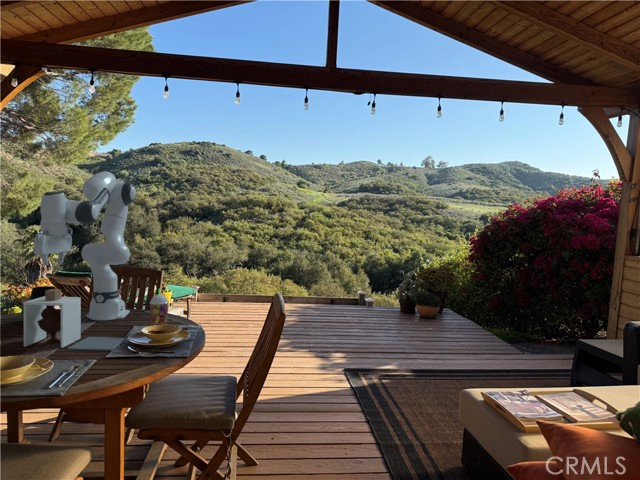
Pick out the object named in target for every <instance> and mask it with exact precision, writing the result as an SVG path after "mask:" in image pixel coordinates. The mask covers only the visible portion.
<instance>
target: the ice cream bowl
mask: <svg viewBox="0 0 640 480" xmlns="http://www.w3.org/2000/svg"><path fill="white" fill-rule="evenodd" d="M41 316H42V318H43V319H41V320H39V321H38V325H39V327H40V328H41V329H42V330H43V331H45V332H47V334H49V335H50V339H47V340H46V341H45V344H46V345H57V344H61V338H58V337H57V336H56V335H57V333H59V332H61V309H57V308H55V306H54V307H47V308H45V309H44V310H43V311H42V312H41Z"/></svg>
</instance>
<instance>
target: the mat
mask: <svg viewBox="0 0 640 480" xmlns="http://www.w3.org/2000/svg"><path fill="white" fill-rule="evenodd" d="M124 338H125V337H111V336H109V337H105V336H104V337H103V336H100V337H99V336H88V337H86V338H84V339H82V340H80V341H78V342H76V343H75V344H73V345H70V346H68V347H67V349H66V350H68V351H71V350H72V351H98V352H99V351H100V352H101V351H104V352H113V351H115V350H116V349H117V348H116V347H117V346H119V344H120V343H121V341H122V340H123V339H124ZM119 347H120V346H119ZM115 348H116V349H115ZM114 349H115V350H114Z"/></svg>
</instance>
